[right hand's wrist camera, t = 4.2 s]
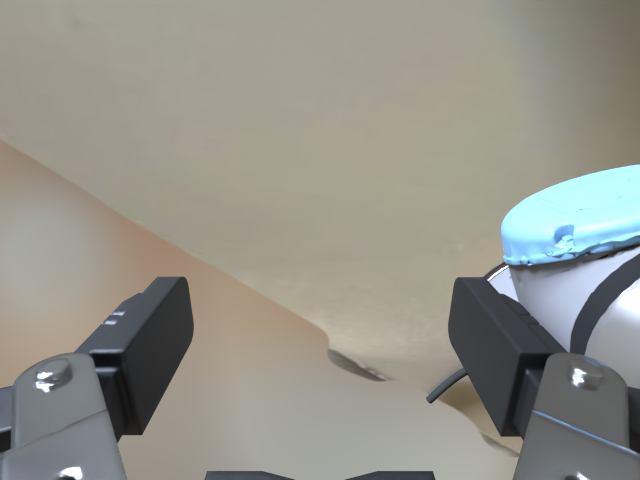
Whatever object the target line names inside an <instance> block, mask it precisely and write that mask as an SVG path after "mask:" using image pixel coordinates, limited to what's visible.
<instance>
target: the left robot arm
mask: <svg viewBox="0 0 640 480" xmlns="http://www.w3.org/2000/svg"><path fill="white" fill-rule="evenodd" d="M501 235H502V242H503V248H504V257H503V259H504V261H505V262H504V263H502V264H501V265H499V266H497V267H496V268H494V269H493V270H492V271H490V272H489V273H488V274H487V275H486V276H485V277H484V278H486V279H487V280H488V281H489V282H490V284H491V285H492V286H493V287H494V288H495V289H496V290H497V291H498V292H499V293H500V294H505V295H507V296H509V297H510V298H512V299H514V300H516V301H517V302H519V303H520V304H521V305H522V306H523V307H524V308H525V309H526V310H527V311H528V312H529V313H530V315H531V316H533V317H534V318H535V319H536V320H537V321H538V322H539V325H542V326H543V327H544V328H545V329H546V330H547V331H548V332H549V333H550V334H551V335H552V336H553V337H554V338H555V339H556V340H557V341H558V342H559V343H560V344H561V345H562V346H563V347H564V349H565V350H566V351H567V352H568V353H576V354H580V355H584V356H587V357H590V358H593V359H595V360H598V361H600V362H602V363H604V364H606V365H607V366H609V367H610V368H612V369H613V370H615V371H616V372H617V373H618V374H619V375H620V376H621V377H622V378H623V379H624V380H625V382H626V384H627V386H629V387H633V388H638V389H640V164H639V165H632V166H626V167H620V168H615V169H609V170H605V171H600V172H596V173H592V174H588V175H585V176H581V177H578V178H575V179H571V180H568V181H565V182H562V183H559V184H557V185H554V186H552V187H549V188H547V189H544V190H542V191H540V192H538V193H536V194H534V195H532V196H530V197H528V198H526V199H525V200H523V201H522V202H520V203H519V204H518V205H517V206H515V207H514V208H513V209H512V210H511V211H510V212H509V213H508V214H507V215H506V217H505V219H504V220H503V223H502V227H501ZM466 375H468V374H467V372H466V370H465V369H464V368H462V369H461V370H459V371H457V372H456V373H454V374H453V375H452V376H450V377H449V378H448V379H447V380H446V381H444V382H443V383H442V384H441V385H440V386H439V387H438V388H436V389H435V390H434V391H433V392H432V393H431V394H430V395H429V396H428V397H427V398H426V399H427V401H428V402H429V403H432V402H433V401H435V400H436V399H437V398H438V397H439V396H440V395H441V394H442V393H444V392H445V391H446V390H447V389H448V388H449V387H451V386H452V385H453V384H454V383H456V382H457V381H458V380H460V379H461V378H463V377H464V376H466Z"/></svg>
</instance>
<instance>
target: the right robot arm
mask: <svg viewBox="0 0 640 480" xmlns="http://www.w3.org/2000/svg"><path fill="white" fill-rule="evenodd" d="M193 330H194V323H193V315H192V308H191V301H190V294H189V287H188V282H187V280H186V278H185V277H157V278H156V279H155V280H154V281H153V282H152V283H151V284H150V286H149V287H148V288H147V289H146V290H145V291H144V292H143V293H138V294H136V295H134V296H133V297H131V298H129V299H127V300H126V301H124V302H122V303H121V304H120V305H119V306H118V308H117V309H116V310H115V311H114V312H113V313H112V315H110V316H109V317H108V318H107V319H106V320H105V321H104V322H103V324H101V325H100V326H99V327H98V328H97V329H96V330H95V331H94V332H93V333H92V334H91V335H90V336H89V337H88V338H87V340H86V341H85V342H84V343H83V344H82V345H81V346H80V347H79V348H78V349H77V350H76V351H75V352H73V353H64V354H60V355H56V356H53V357H50V358H47V359H45V360H42V361H40V362H38V363H36V364H35V365H33V366H31V367H30V368H28V369H27V370H25V371H24V372H23V373H22V374H21V375H20V376H19V377H18V378H17V379H16V380H15V382H14V384H13V386H9V387H4V388H0V480H127V477H126V473H125V469H124V466H123V462H122V459H121V455H120V452H119V448H118V445H117V443H118V441H119V440H120V438H121V436H122V435H142V434H143V432H144V430H145V428H146V427H147V425H148V423H149V421H150V419H151V417H152V415H153V413H154V411H155V410H156V408H157V406H158V404H159V402H160V400H161V398H162V396H163V394H164V393H165V391H166V389H167V387H168V385H169V383H170V381H171V379H172V377H173V376H174V374H175V372H176V370H177V368H178V366H179V364H180V362H181V360H182V359H183V357H184V355H185V353H186V351H187V349H188V347H189V345H190V343H191V341H192V337H193ZM448 332H449V338H450V342H451V344H452V346H453V348H454V350H455V352H456V354H457V355H458V357H459V359H460V361H461V363H462V365H463V367H464V369H465V370H466V372H467V374H468V376H469V378H470V380H471V382H472V383H473V385H474V387H475V389H476V391H477V393H478V395H479V396H480V398H481V400H482V402H483V404H484V406H485V408H486V410H487V411H488V413H489V415H490V417H491V419H492V421H493V423H494V424H495V426H496V428H497V430H498V432H499V434H500V436H521V438H522V439H523V445H522V448H521V452H520V455H519V459H518V462H517V466H516V469H515V473H514V477H513V480H640V389H638V388H633V387H629V386H627V384H626V382H625V380H624V379H623V378H622V377H621V376H620V375H619V374H618V373H617V372H616V371H615V370H613V369H612V368H610V367H609V366H607V365H606V364H604V363H602V362H600V361H598V360H595V359H593V358H590V357H587V356H584V355H580V354H576V353H568V352H567V351H566V350H565V349H564V347H563V346H562V345H561V344H560V343H559V342H558V341H557V340H556V339H555V338H554V337H553V336H552V335H551V334H550V333H549V332H548V331H547V330H546V329H545V328H544V327H543V326H542V325H539V322H538V321H537V320H536V319H535V318H534V317H533V316H531V315H530V313H529V312H528V311H527V310H526V309H525V308H524V307H523V306H522V305H521V304H520V303H519V302H517V301H516V300H514V299H512V298H510V297H509V296H507V295H505V294H500V293H499V292H498V291H497V290H496V289H495V288H494V287H493V286H492V285H491V284H490V282H489V281H488V280H487V279H486V278H484V277H458V278H457V279H456V280H455V283H454V288H453V295H452V302H451V309H450V315H449V323H448ZM205 480H294V479H290V478H286V477H283V476H279V475H275V474H271V473H267V472H263V471H207V474H206V477H205ZM346 480H435V477H434V474H433V471H377V472H373V473H369V474H365V475H361V476H358V477H354V478H350V479H346Z"/></svg>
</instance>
